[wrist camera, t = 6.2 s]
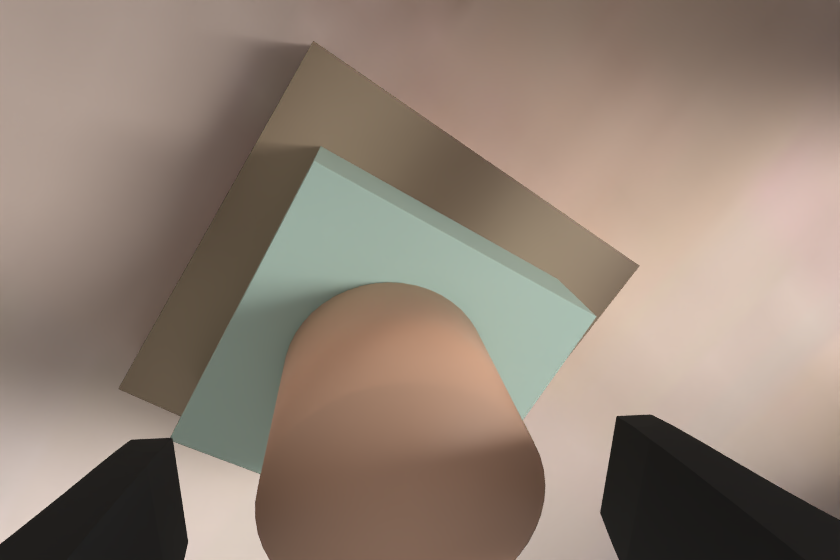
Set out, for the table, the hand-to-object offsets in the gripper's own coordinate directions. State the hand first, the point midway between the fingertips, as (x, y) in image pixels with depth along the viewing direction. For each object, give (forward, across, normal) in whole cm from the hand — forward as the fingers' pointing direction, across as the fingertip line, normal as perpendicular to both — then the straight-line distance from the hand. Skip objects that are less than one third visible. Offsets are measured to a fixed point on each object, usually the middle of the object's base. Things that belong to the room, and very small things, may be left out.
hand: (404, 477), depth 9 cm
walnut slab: (+8, 0, 0) cm, 8 cm away
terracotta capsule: (+3, 0, 0) cm, 3 cm away
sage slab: (+6, 0, 0) cm, 6 cm away
